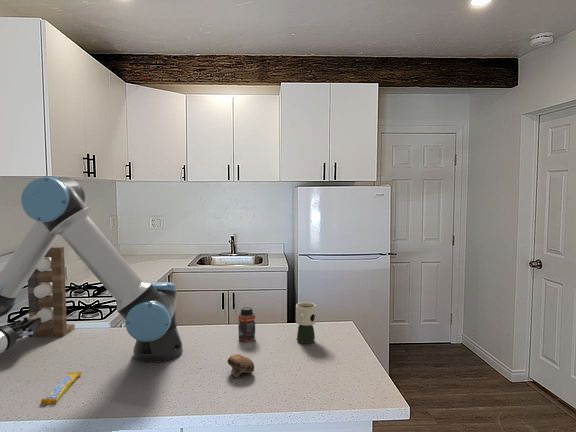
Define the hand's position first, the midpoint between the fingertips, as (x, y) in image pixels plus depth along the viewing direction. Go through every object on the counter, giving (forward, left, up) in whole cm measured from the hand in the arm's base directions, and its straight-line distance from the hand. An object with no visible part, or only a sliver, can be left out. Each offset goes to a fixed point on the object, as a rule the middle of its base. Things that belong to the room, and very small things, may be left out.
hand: (41, 316), depth 148 cm
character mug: (-48, -79, -8) cm, 93 cm away
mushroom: (-60, -49, -8) cm, 78 cm away
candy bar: (-45, -4, -9) cm, 46 cm away
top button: (+3, -2, +16) cm, 16 cm away
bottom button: (+3, -2, -2) cm, 4 cm away
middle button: (+2, -1, +7) cm, 7 cm away
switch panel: (+5, -3, -8) cm, 10 cm away
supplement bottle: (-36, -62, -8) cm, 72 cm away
